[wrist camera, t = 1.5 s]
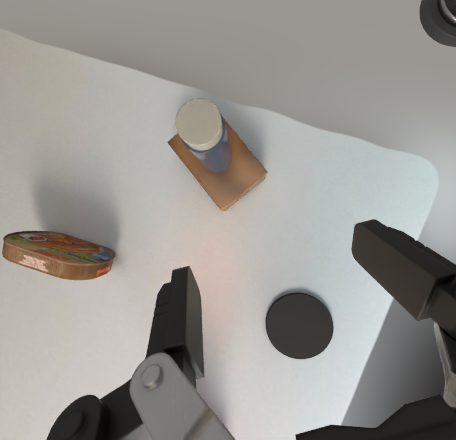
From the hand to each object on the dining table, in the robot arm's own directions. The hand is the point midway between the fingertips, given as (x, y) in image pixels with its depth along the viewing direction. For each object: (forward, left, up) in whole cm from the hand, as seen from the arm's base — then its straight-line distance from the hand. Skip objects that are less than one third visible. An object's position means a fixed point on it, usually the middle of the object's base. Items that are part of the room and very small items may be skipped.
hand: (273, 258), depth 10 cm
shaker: (-2, -11, -18) cm, 21 cm away
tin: (+25, -15, -23) cm, 37 cm away
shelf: (-2, -11, -23) cm, 26 cm away
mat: (+4, +16, -23) cm, 28 cm away
